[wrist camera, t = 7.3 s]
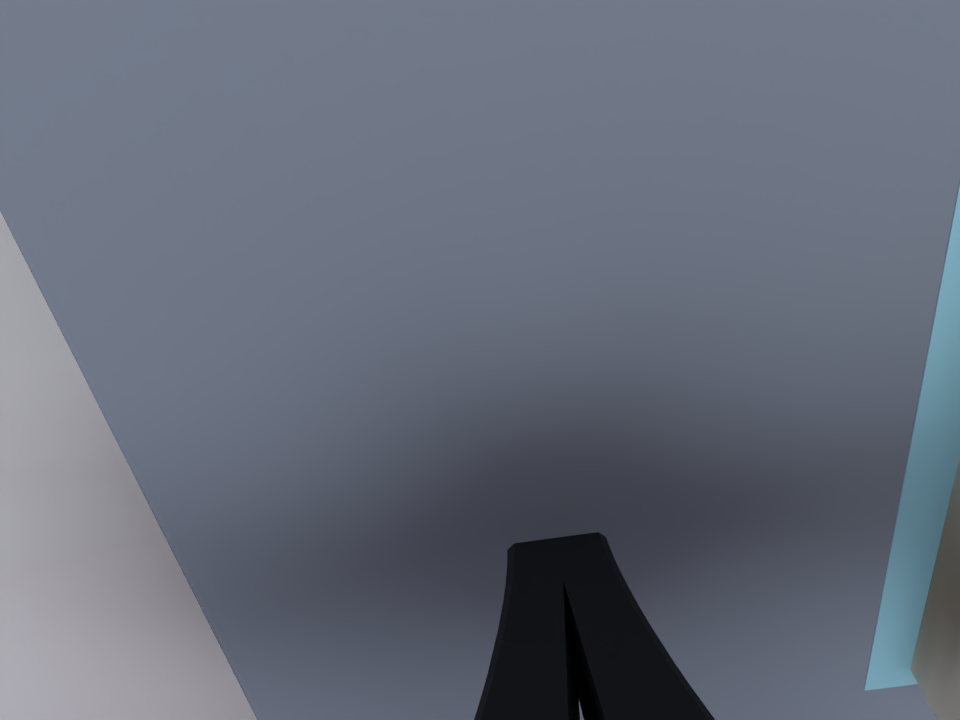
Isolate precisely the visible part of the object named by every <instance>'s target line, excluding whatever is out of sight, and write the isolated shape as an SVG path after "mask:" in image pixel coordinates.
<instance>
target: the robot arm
mask: <svg viewBox="0 0 960 720" xmlns="http://www.w3.org/2000/svg"><path fill="white" fill-rule="evenodd" d="M579 702H580V706H581V710H582V714H583V718H584V720H715V719H714V717H713V716H712V715H711V713H710V712H709V711H708V709H707V708H706V706H705V705H704V704H703V702H702V701H701V700H700V698H699V697H698V695H697V694H696V693H695V691H694V690H693V689H692V687H691V686H690V684H689V683H688V682H687V680H686V679H685V677H684V676H683V674H682V673H681V671H680V670H679V668H678V667H677V666H676V664H675V663H674V661H673V660H672V658H671V656H670V655H669V653H668V652H667V650H666V649H665V647H664V646H663V644H662V642H661V641H660V639H659V638H658V636H657V635H656V633H655V632H654V630H653V628H652V627H651V625H650V624H649V622H648V620H647V619H646V617H645V615H644V614H643V612H642V610H641V609H640V607H639V605H638V603H637V601H636V600H635V598H634V596H633V594H632V592H631V591H630V589H629V587H628V585H627V583H626V581H625V579H624V577H623V575H622V573H621V571H620V569H619V567H618V565H617V563H616V561H615V558H614V556H613V554H612V552H611V549H610V547H609V544H608V541H607V538H606V537H605V536H604V535H602V534H600V533H599V532H594V533H587V534H580V535H572V536H565V537H557V538H550V539H542V540H535V541H528V542H520V543H514V544H513V545H512V546H511V547H510V548H509V549H508V550H507V574H506V584H505V592H504V599H503V605H502V611H501V616H500V622H499V627H498V632H497V636H496V640H495V644H494V649H493V653H492V657H491V661H490V666H489V670H488V674H487V678H486V682H485V685H484V689H483V692H482V695H481V699H480V702H479V705H478V708H477V712H476V715H475V718H474V720H580V712H579Z"/></svg>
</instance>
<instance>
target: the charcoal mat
mask: <svg viewBox="0 0 960 720" xmlns="http://www.w3.org/2000/svg"><path fill="white" fill-rule="evenodd" d="M0 211H1V213H2V215H3V217H4V219H5V221H6V223H7V225H8V227H9V229H10V231H11V233H12V235H13V237H14V239H15V241H16V243H17V245H18V247H19V249H20V251H21V253H22V255H23V257H24V258H25V260H26V262H27V264H28V266H29V268H30V270H31V272H32V274H33V276H34V278H35V280H36V282H37V284H38V286H39V288H40V290H41V292H42V294H43V296H44V298H45V300H46V302H47V304H48V306H49V308H50V310H51V312H52V314H53V316H54V318H55V320H56V322H57V324H58V326H59V328H60V330H61V332H62V334H63V336H64V338H65V340H66V342H67V344H68V346H69V348H70V350H71V352H72V354H73V355H74V357H75V359H76V361H77V363H78V365H79V367H80V369H81V371H82V373H83V375H84V377H85V379H86V381H87V383H88V385H89V387H90V389H91V391H92V393H93V395H94V397H95V399H96V401H97V403H98V405H99V407H100V409H101V411H102V413H103V415H104V417H105V419H106V421H107V423H108V425H109V427H110V429H111V431H112V433H113V435H114V437H115V439H116V441H117V443H118V445H119V447H120V449H121V450H122V452H123V454H124V456H125V458H126V460H127V462H128V464H129V466H130V468H131V470H132V472H133V474H134V476H135V478H136V480H137V482H138V484H139V486H140V488H141V490H142V492H143V494H144V496H145V498H146V500H147V502H148V504H149V506H150V508H151V510H152V512H153V514H154V516H155V518H156V520H157V522H158V524H159V526H160V528H161V530H162V532H163V534H164V536H165V538H166V540H167V542H168V544H169V545H170V547H171V549H172V551H173V553H174V555H175V557H176V559H177V561H178V563H179V565H180V567H181V569H182V571H183V573H184V575H185V577H186V579H187V581H188V583H189V585H190V587H191V589H192V591H193V593H194V595H195V597H196V599H197V601H198V603H199V605H200V607H201V609H202V611H203V613H204V615H205V617H206V619H207V621H208V623H209V625H210V627H211V629H212V631H213V633H214V635H215V637H216V639H217V640H218V642H219V644H220V646H221V648H222V650H223V652H224V654H225V656H226V658H227V660H228V662H229V664H230V666H231V668H232V670H233V672H234V674H235V676H236V678H237V680H238V682H239V684H240V686H241V688H242V690H243V692H244V694H245V696H246V698H247V700H248V702H249V704H250V706H251V708H252V710H253V712H254V714H255V716H256V718H257V720H474V718H475V715H476V712H477V708H478V705H479V702H480V699H481V695H482V692H483V689H484V685H485V682H486V678H487V674H488V670H489V666H490V661H491V657H492V653H493V649H494V644H495V640H496V636H497V632H498V627H499V622H500V616H501V611H502V605H503V599H504V592H505V584H506V574H507V550H508V549H509V548H510V547H511V546H512V545H513V544H514V543H520V542H528V541H535V540H542V539H550V538H557V537H565V536H572V535H580V534H587V533H594V532H599V533H600V534H602V535H604V536H605V537H606V538H607V541H608V544H609V547H610V549H611V552H612V554H613V556H614V558H615V561H616V563H617V565H618V567H619V569H620V571H621V573H622V575H623V577H624V579H625V581H626V583H627V585H628V587H629V589H630V591H631V592H632V594H633V596H634V598H635V600H636V601H637V603H638V605H639V607H640V609H641V610H642V612H643V614H644V615H645V617H646V619H647V620H648V622H649V624H650V625H651V627H652V628H653V630H654V632H655V633H656V635H657V636H658V638H659V639H660V641H661V642H662V644H663V646H664V647H665V649H666V650H667V652H668V653H669V655H670V656H671V658H672V660H673V661H674V663H675V664H676V666H677V667H678V668H679V670H680V671H681V673H682V674H683V676H684V677H685V679H686V680H687V682H688V683H689V684H690V686H691V687H692V689H693V690H694V691H695V693H696V694H697V695H698V697H699V698H700V700H701V701H702V702H703V704H704V705H705V706H706V708H707V709H708V711H709V712H710V713H711V715H712V716H713V717H714V719H715V720H938V719H937V718H936V716H935V714H934V712H933V710H932V709H931V707H930V705H929V703H928V701H927V699H926V698H925V696H924V694H923V692H922V690H921V688H920V687H919V685H918V683H917V681H916V679H915V678H914V676H913V674H912V672H911V670H910V668H911V663H912V659H913V655H914V650H915V646H916V642H917V638H918V633H919V629H920V625H921V621H922V616H923V612H924V608H925V603H926V599H927V595H928V591H929V586H930V582H931V578H932V573H933V569H934V565H935V561H936V556H937V552H938V548H939V543H940V539H941V535H942V531H943V526H944V522H945V518H946V513H947V509H948V505H949V501H950V496H951V492H952V488H953V484H954V479H955V475H956V471H957V466H958V462H959V458H960V0H0ZM579 712H580V720H584V718H583V714H582V710H581V706H580V702H579Z"/></svg>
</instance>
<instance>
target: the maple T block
mask: <svg viewBox="0 0 960 720" xmlns="http://www.w3.org/2000/svg"><path fill="white" fill-rule="evenodd" d="M910 670H911V672H912V674H913V676H914V678H915V679H916V681H917V683H918V685H919V687H920V688H921V690H922V692H923V694H924V696H925V698H926V699H927V701H928V703H929V705H930V707H931V709H932V710H933V712H934V714H935V716H936V718H937V719H938V720H960V458H959V462H958V466H957V471H956V475H955V479H954V484H953V488H952V492H951V496H950V501H949V505H948V509H947V513H946V518H945V522H944V526H943V531H942V535H941V539H940V543H939V548H938V552H937V556H936V561H935V565H934V569H933V573H932V578H931V582H930V586H929V591H928V595H927V599H926V603H925V608H924V612H923V616H922V621H921V625H920V629H919V633H918V638H917V642H916V646H915V650H914V655H913V659H912V663H911V668H910Z"/></svg>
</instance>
